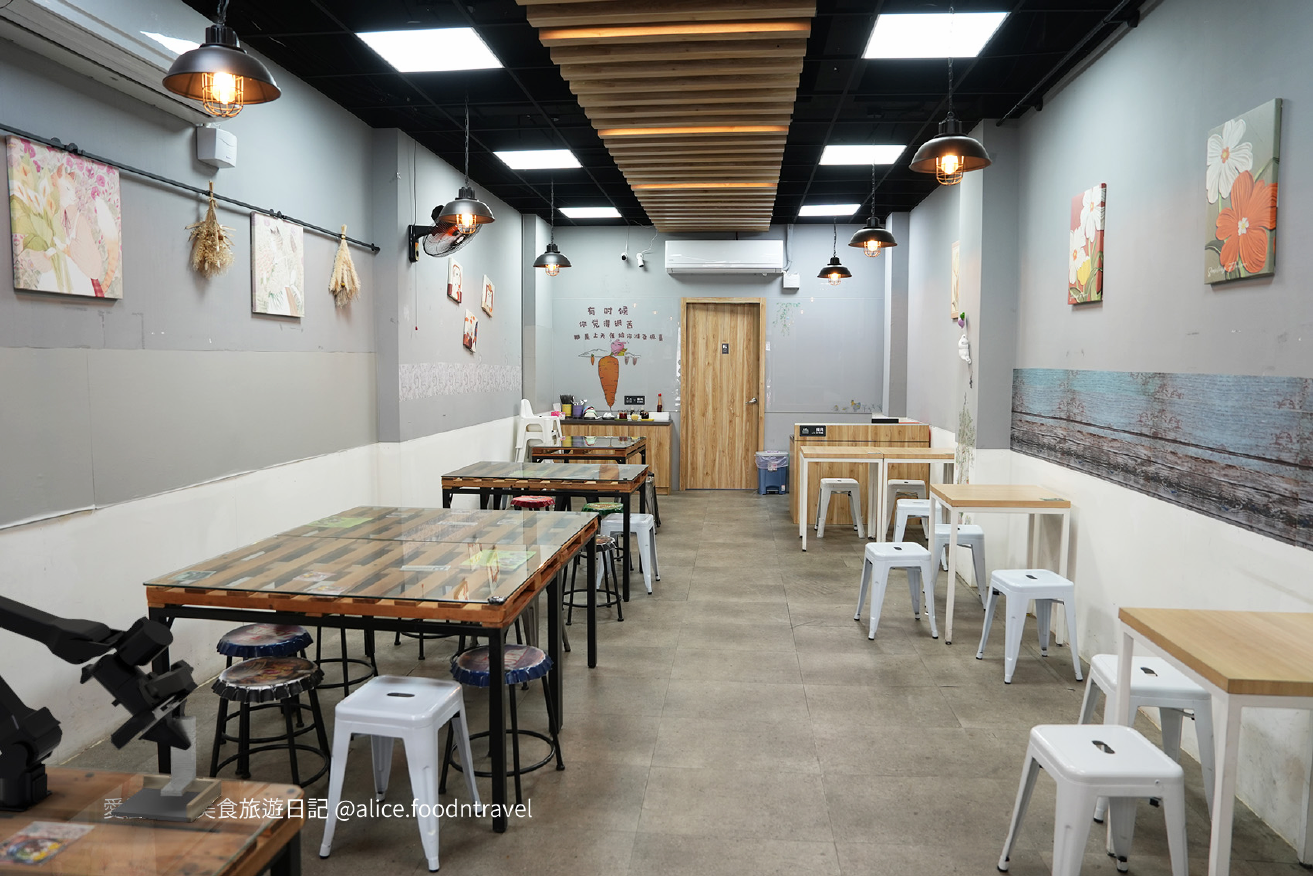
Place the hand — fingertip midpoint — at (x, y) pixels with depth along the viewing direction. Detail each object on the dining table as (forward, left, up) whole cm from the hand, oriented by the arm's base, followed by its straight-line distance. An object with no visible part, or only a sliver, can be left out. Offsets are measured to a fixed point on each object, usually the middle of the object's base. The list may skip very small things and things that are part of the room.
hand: (191, 746), depth 145 cm
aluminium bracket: (-1, -2, -7) cm, 7 cm away
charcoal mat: (-3, -1, -11) cm, 11 cm away
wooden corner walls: (-3, -1, -11) cm, 11 cm away
